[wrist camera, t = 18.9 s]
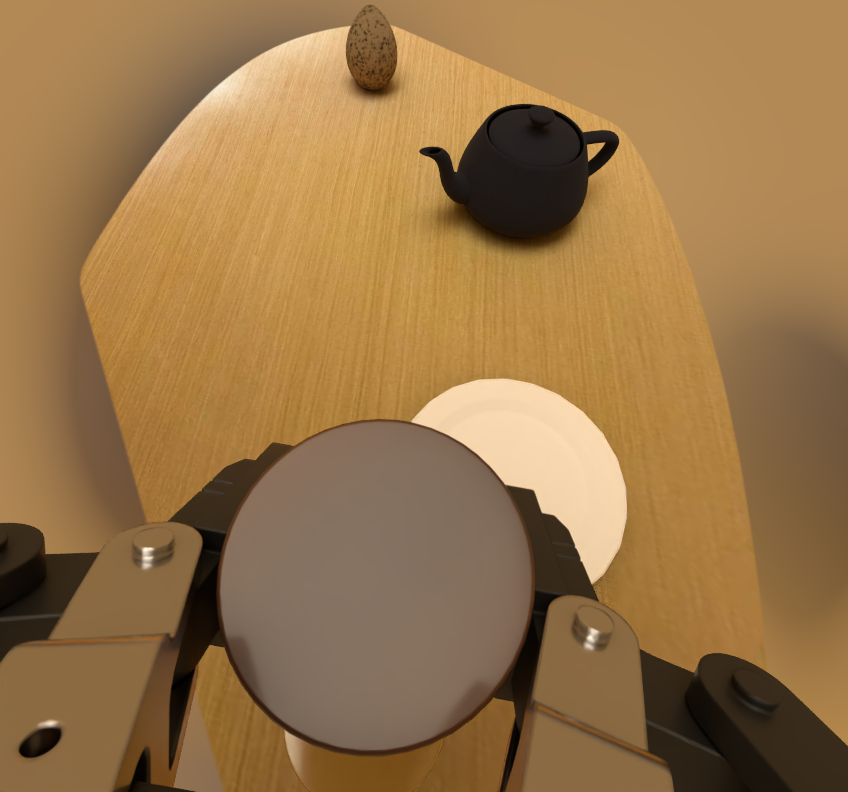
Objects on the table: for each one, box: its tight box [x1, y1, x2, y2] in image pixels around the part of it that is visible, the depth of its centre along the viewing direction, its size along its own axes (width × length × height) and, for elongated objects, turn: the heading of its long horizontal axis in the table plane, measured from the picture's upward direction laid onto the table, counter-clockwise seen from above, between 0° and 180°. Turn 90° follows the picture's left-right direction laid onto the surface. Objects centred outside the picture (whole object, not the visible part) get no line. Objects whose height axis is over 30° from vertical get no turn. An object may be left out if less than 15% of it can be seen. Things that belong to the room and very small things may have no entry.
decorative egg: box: [346, 5, 397, 90], centre depth 65 cm, size 7×7×10 cm
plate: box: [411, 378, 627, 584], centre depth 42 cm, size 21×21×2 cm
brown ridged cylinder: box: [216, 419, 535, 757], centre depth 10 cm, size 4×4×8 cm
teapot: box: [419, 104, 619, 238], centre depth 54 cm, size 25×16×12 cm, turn 109°
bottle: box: [283, 729, 444, 792], centre depth 26 cm, size 8×8×21 cm
